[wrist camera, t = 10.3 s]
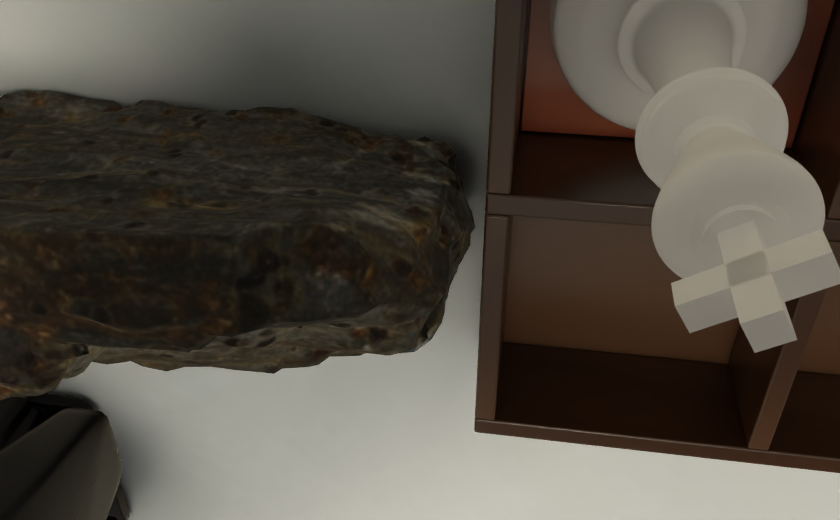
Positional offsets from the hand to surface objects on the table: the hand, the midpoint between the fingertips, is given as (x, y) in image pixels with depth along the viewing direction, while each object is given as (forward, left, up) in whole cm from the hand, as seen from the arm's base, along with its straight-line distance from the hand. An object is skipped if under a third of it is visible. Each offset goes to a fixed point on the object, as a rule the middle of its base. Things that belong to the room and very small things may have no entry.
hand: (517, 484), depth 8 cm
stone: (-4, +9, -12) cm, 15 cm away
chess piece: (+1, -2, -11) cm, 12 cm away
